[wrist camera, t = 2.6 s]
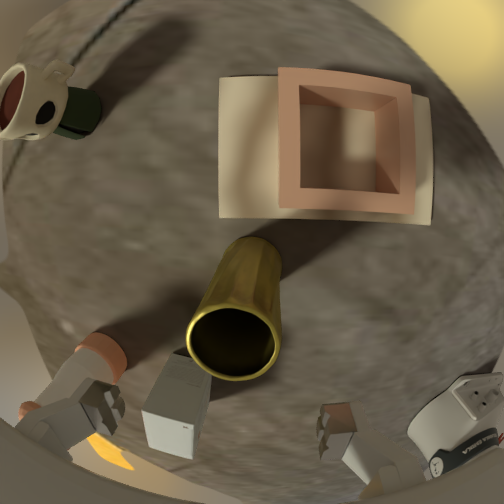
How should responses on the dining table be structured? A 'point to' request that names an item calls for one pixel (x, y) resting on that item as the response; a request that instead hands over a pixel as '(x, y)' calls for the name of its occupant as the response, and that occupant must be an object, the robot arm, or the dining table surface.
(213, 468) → the dining table surface
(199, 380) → the small box
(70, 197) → the dining table surface
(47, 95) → the character mug
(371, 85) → the pink open box
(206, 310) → the vase
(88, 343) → the pepper shaker
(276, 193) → the board
